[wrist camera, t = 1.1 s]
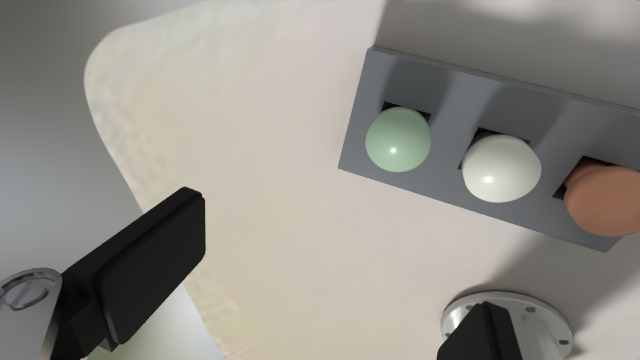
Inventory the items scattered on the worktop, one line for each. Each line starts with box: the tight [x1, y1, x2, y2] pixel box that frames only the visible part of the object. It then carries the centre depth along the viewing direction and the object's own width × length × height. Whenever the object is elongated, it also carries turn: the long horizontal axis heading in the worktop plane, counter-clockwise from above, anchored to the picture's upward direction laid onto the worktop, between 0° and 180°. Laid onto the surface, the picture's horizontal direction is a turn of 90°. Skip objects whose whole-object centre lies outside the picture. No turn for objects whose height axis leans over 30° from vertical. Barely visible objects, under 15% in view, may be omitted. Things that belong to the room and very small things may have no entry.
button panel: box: [338, 45, 640, 253], centre depth 23 cm, size 22×10×3 cm, turn 79°
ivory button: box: [462, 131, 541, 203], centre depth 21 cm, size 4×4×4 cm
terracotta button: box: [563, 158, 640, 237], centre depth 20 cm, size 4×4×4 cm
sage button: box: [365, 107, 431, 172], centre depth 22 cm, size 4×4×4 cm
